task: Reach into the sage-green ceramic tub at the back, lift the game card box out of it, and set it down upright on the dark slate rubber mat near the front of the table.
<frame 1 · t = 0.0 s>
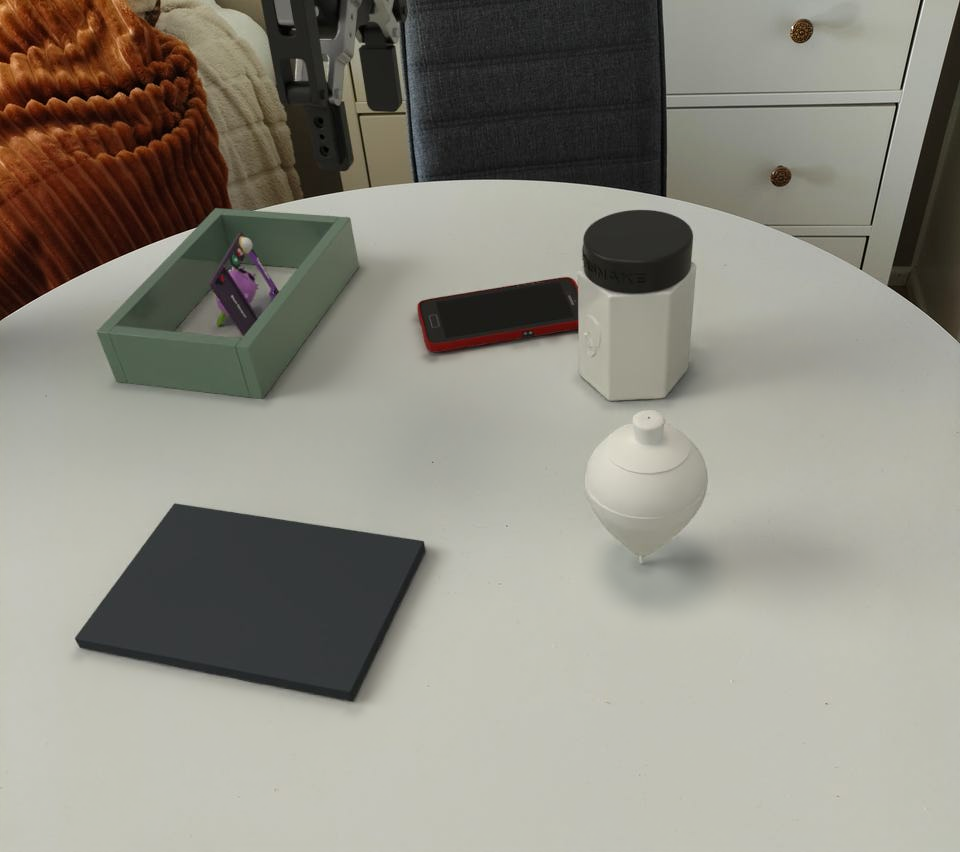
hand: (361, 137, 64), 23 cm above the table, tool pointing down, fingers open, 8 cm apart
mat: (257, 598, 71), on the table
cell phone: (503, 321, 92), on the table
game card: (244, 322, 96), on the table
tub: (244, 321, 96), on the table
spinning top: (641, 564, 70), on the table
jar: (633, 375, 85), on the table
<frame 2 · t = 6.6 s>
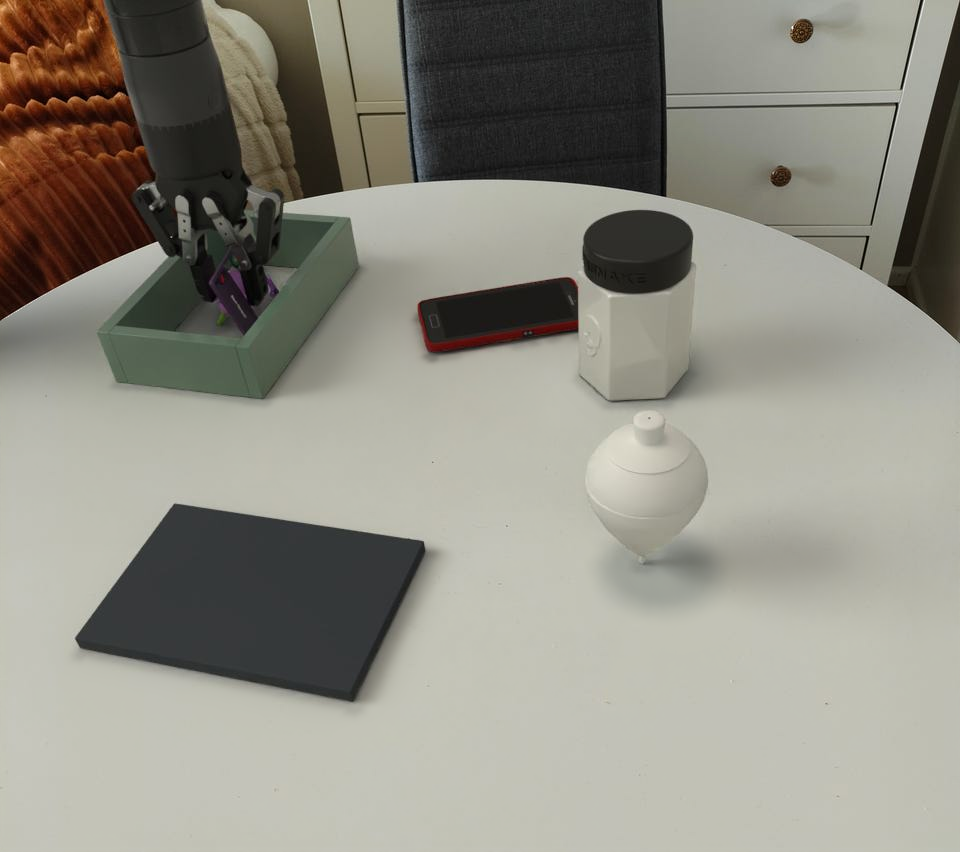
hand: (235, 299, 94), 2 cm above the table, tool pointing down, fingers closed on game card, 4 cm apart
game card: (244, 323, 96), on the table, touching gripper
everything else where it was.
when the fingers open (3 cm above the table, at t = 14.3 s): game card stays where it is, resting on mat.
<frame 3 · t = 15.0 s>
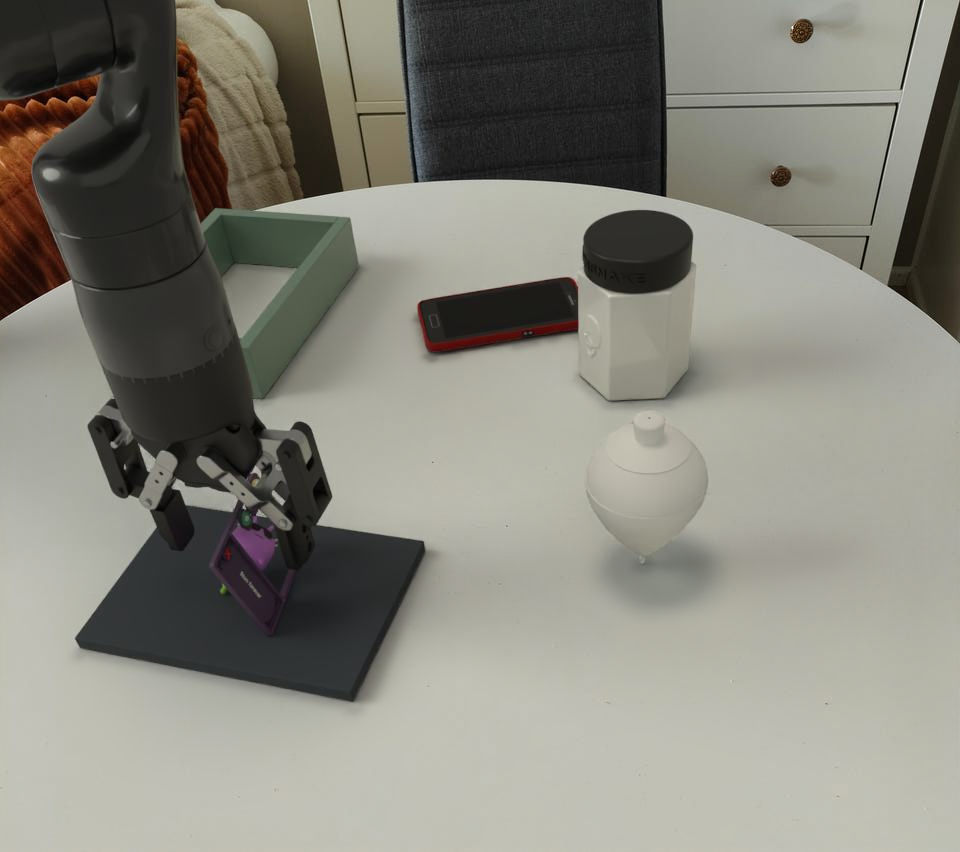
hand: (240, 551, 68), 4 cm above the table, tool pointing down, fingers open, 8 cm apart
game card: (258, 589, 70), point 1 cm above the table, touching mat
everything else where it was.
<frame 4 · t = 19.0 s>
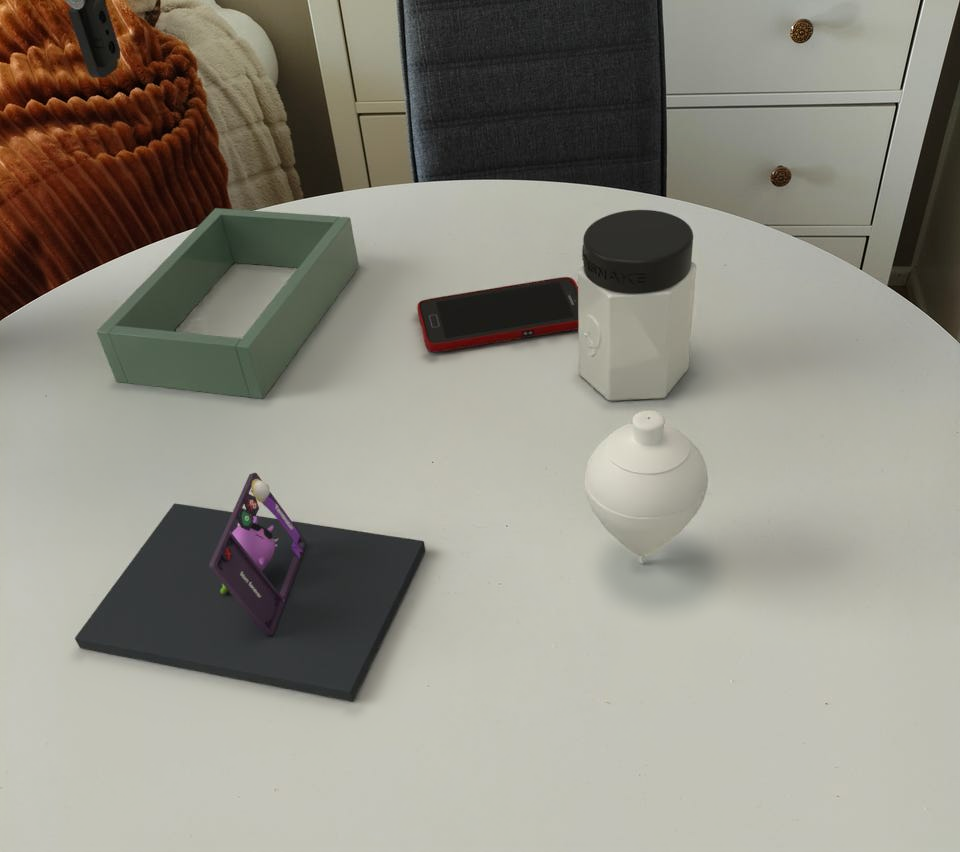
hand: (45, 71, 63), 28 cm above the table, tool pointing down, fingers open, 8 cm apart
nothing on the table moved.
at the end: game card inside the target area on the mat (0.3 cm from its centre), point 0.8 cm above the mat's base; game card tilted 0°; the gripper is holding nothing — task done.
